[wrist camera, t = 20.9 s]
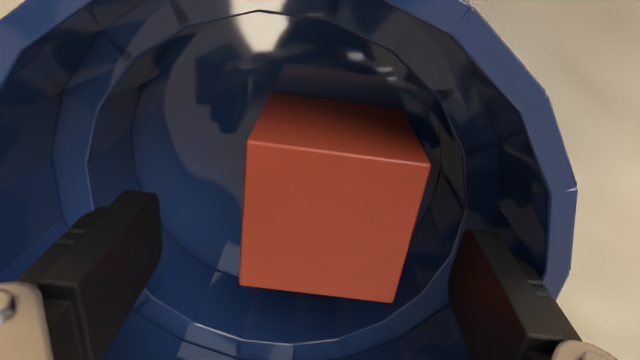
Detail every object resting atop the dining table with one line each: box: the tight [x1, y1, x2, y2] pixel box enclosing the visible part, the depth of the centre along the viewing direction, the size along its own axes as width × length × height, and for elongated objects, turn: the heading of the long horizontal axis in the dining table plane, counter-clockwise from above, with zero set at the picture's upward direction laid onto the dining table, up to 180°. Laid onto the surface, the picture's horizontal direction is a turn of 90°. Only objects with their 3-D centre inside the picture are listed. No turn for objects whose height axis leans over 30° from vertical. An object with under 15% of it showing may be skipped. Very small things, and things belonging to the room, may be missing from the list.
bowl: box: [0, 0, 578, 360], centre depth 13 cm, size 14×14×6 cm
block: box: [239, 92, 431, 303], centre depth 13 cm, size 4×4×4 cm
